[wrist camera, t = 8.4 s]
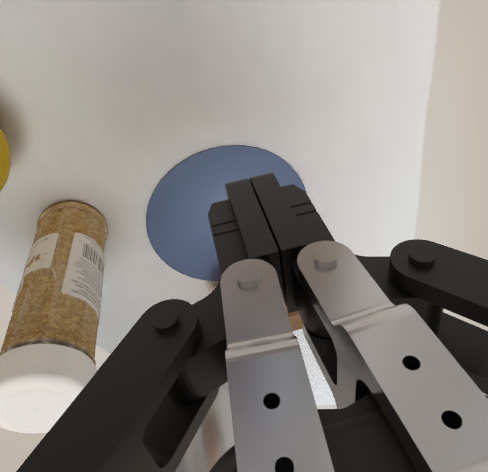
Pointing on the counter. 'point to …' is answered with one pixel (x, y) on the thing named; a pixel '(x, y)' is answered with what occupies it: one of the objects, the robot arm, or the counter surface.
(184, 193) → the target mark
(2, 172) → the lemon
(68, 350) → the sprinkles bottle
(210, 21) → the counter surface
